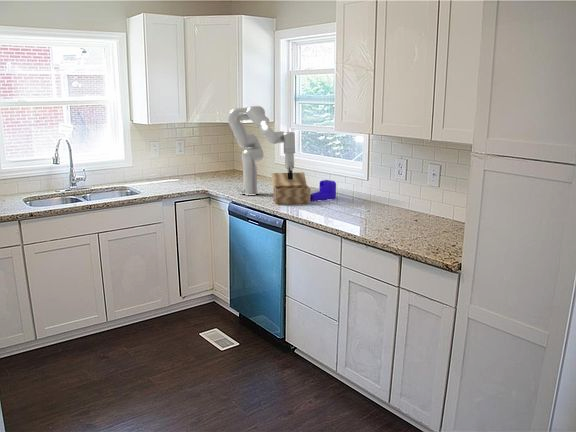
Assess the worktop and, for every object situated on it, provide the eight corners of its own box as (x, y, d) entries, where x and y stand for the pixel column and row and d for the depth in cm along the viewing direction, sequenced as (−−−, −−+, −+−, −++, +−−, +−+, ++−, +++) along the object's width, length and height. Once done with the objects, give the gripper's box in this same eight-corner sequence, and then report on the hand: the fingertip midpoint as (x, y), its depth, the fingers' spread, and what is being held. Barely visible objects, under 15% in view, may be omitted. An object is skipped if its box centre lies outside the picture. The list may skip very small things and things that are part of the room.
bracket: (324, 196, 360) (324, 179, 357) (335, 198, 352) (336, 181, 349) (305, 200, 348) (305, 182, 345) (317, 202, 340) (317, 184, 338)
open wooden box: (275, 204, 333) (275, 189, 330) (273, 200, 344) (273, 185, 342) (310, 203, 336) (310, 188, 334) (306, 200, 347) (306, 185, 345)
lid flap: (271, 173, 350) (271, 173, 350) (273, 185, 342) (273, 186, 342) (304, 172, 353) (303, 173, 354) (306, 184, 345) (306, 185, 346)
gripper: (282, 150, 350) (283, 177, 354) (285, 152, 335) (286, 180, 339) (293, 149, 351) (294, 177, 355) (297, 151, 336) (297, 180, 340)
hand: (290, 178), depth 347 cm, fingers closed
